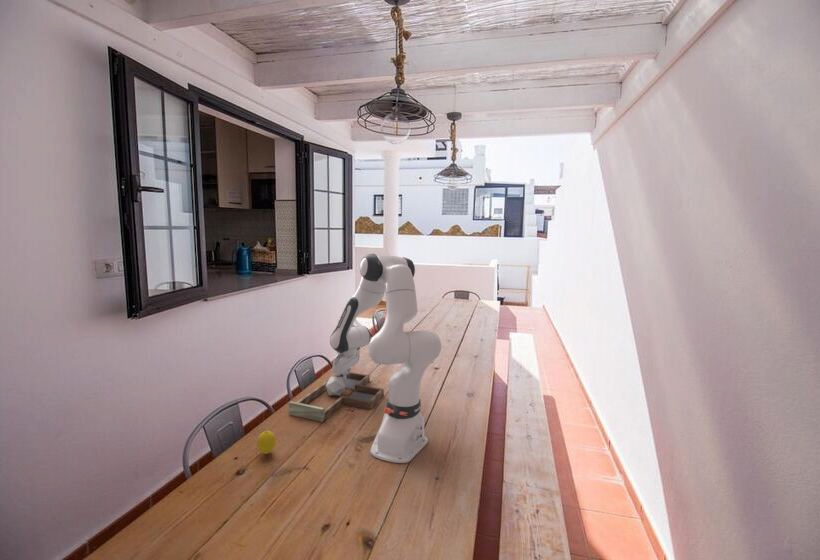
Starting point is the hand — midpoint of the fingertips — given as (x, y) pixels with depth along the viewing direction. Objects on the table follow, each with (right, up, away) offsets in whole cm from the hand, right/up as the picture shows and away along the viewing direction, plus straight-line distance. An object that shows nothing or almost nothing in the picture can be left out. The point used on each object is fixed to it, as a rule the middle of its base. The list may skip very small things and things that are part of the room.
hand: (346, 377), depth 178 cm
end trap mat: (+1, -4, +3) cm, 5 cm away
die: (-3, -5, -8) cm, 11 cm away
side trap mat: (+9, -6, -13) cm, 16 cm away
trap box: (+2, -6, -12) cm, 14 cm away
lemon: (-17, -11, -54) cm, 58 cm away
